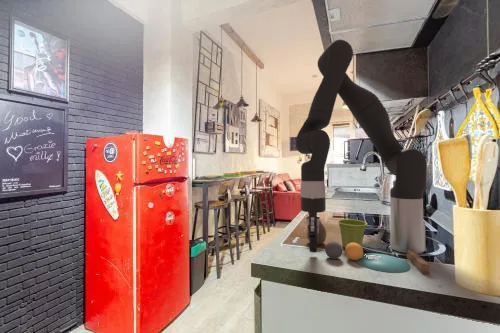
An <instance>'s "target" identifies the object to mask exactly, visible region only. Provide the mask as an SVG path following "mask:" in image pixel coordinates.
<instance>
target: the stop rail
mask: <svg viewBox="0 0 500 333" xmlns="http://www.w3.org/2000/svg"><path fill="white" fill-rule="evenodd" d="M406 252H407V253H406V259H409V260H410V261H411V262H410V261H409V260H408V261H409V262H410V263H411V264H412V265H413V266H414V267H415V268H416V269H417V270H418V271H419V273H421V275H428V276H429V275H430V264H429V263H428V262H427V261H426V260H425V259H423V257H421V256H420V255H419V254H417V253H416V252H414V251H413V250H408V249H406Z"/></svg>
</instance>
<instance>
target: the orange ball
mask: <svg viewBox="0 0 500 333" xmlns="http://www.w3.org/2000/svg"><path fill="white" fill-rule="evenodd" d="M344 252H345V255H346V257H347V258H348V259H350V260H351V261H355V260H359V259H361V258H362V256H363V254H364V249H363V246H362V247H361V246H360V245H359V244H357V243H349V244H348V245H347V246H346V248H345V249H344Z"/></svg>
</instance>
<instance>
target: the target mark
mask: <svg viewBox="0 0 500 333" xmlns="http://www.w3.org/2000/svg"><path fill="white" fill-rule="evenodd" d="M365 254H366V255H377V256H381V258H380V259H378V260H377V259H374V258H373V259H368V257H367V258H366V255H365ZM364 255H365V256H364ZM383 257H384V258H383ZM355 262H356V263H357V264H358V265H360V266H363V267H365V268H367V269H371V270H374V271H377V272H385V273H404V272H408V271H409V270H410V269H411V264H410V263H409V262H407V261H406V260H404V259H401V258H399V257H395V256H393V255H388V254H383V253H374V252H372V253H369V252H367V253H363V256H362V258H361V259H359V260H356V261H355Z"/></svg>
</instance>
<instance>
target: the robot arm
mask: <svg viewBox="0 0 500 333" xmlns="http://www.w3.org/2000/svg"><path fill="white" fill-rule="evenodd" d="M353 57H354V50H353V47H352V45H351V44H350V43H349V42H348V41H346V40H344V39H336V40H334V41H332V42H331V43H330V44H328V46H326V48H325V50H324V51H323V52H322V54H321V55H320V56H319V57H318V60H317V67H318V71H319V73H320V74H321V75H322V76H323V77H322V79H321V82H320V84H319V86H318V88H317V90H316V92H315V95H314V96H313V98H312V100H311V105H310V108H309V111H308V114H307V118H306V120H305V121H304V122H303V124H302V126H301V127H300V129H299V131H298V132H297V135H296V139H295V148H296V150H297V151H298V152H299V153H300V154H302V155H311V156H310V159H309V160H307V161H305V162H303V163H302V164H301V166H300V180H301V181H300V187H299V188H300V190H299V194H300V211H302V212H305V213H308V215H306V217H305V218H306V219H305V220H306V221H305V222H306V233H307V232H308V235H309V237H308V238H309V240H310V242H309V252H310V253H317V252H318V245H317V239H318V236H317V234H318V233H319V224H320V221H321V219H320V217H321V216H319V215H318V213H324V212H325V211H326V205H327V204H326V203H327V202H326V200H327V199H326V198H327V197H326V184H325V182H326V180H325V167H326V163H327V158H328V155H329V152H330V148H331V138H330V135H328V133H327V132H326V131H325V130H323V129H325V128H327V127H328V126H329V125H330V122H331V119H332V115H333V111H334V109H335V108H334V107H335V103H336V101H337V97H338V96H339V97H340V99H341V100H342V101H343V103H344V104H345V105H346V108H348V109H349V111H350V113H351V114H352V116H353V118H354V119H355V121H356V122H357V123H358V125H359V126H360V128H361V129H362V130H363V132H364V133H365V135H366V136H367V137H368V139H369V140H370V141H371V143H372V144H373V146H374V147H375V149H376V151H377V152H378V154H379V156H380V158H381V159H382V161H383V164H384V165H385V168H386V169H387V171H388V172H390V174H392V175H393V176H395V183H394V185H393V186H392V187H391V188H390V191H389V202H390V204H389V207H390V210H389V211H390V213H389V214H390V215H389V216H390V222H389V224H390V226H389V227H390V229H389V230H390V234H389V235H390V249H392V250H393V251H395V252H399V253H402V254H403V253H404V254H407V252H406V249H408V250H413V251H414V252H416V253H417V254H418V255H419V254H423V253H424V252H425V251H426V222H425V220H424V192H425V191H426V188H427V174H428V173H427V172H428V170H427V167H428V166H427V159H426V156H425V154H424V153H423V152H422V151H420V150H419V149H416V148H406V149H405V148H404V147H403V146H402V144H400V142H399V140H397V138H396V136H395V134H394V132H393V128H392V124H391V120H390V115H389V113H388V111H387V110H386V107H385V105H384V104H383V102H381V100H380V99H379V97H378V96H377V95H376V94H375V93H373V92H371V91H370V90H368V89H366V88H364V86H363V87H362V86H361V85H358V84H357V83H355V82H354V81H353V80H352V79H351V78H350V76H349V75H348V74H347V71H348V69H349V67H350V65H351V62H352V59H353ZM308 238H307V239H308ZM309 240H308V241H309Z"/></svg>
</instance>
